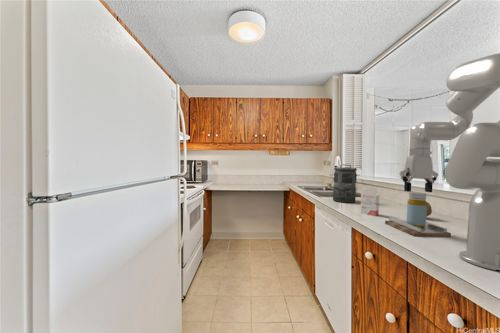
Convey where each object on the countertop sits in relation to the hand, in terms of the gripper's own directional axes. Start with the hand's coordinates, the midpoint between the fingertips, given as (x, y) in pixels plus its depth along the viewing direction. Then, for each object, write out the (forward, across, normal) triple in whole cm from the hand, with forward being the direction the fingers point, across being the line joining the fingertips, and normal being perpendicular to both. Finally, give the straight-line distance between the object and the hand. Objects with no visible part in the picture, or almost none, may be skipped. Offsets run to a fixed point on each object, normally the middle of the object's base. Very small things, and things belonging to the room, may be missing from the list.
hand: (418, 191), depth 100 cm
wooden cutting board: (+16, 0, -1) cm, 16 cm away
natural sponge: (+17, -22, -24) cm, 37 cm away
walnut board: (+17, 0, -1) cm, 17 cm away
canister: (+16, 0, -70) cm, 72 cm away
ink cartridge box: (+17, +4, -30) cm, 35 cm away
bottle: (+16, 0, -1) cm, 16 cm away
